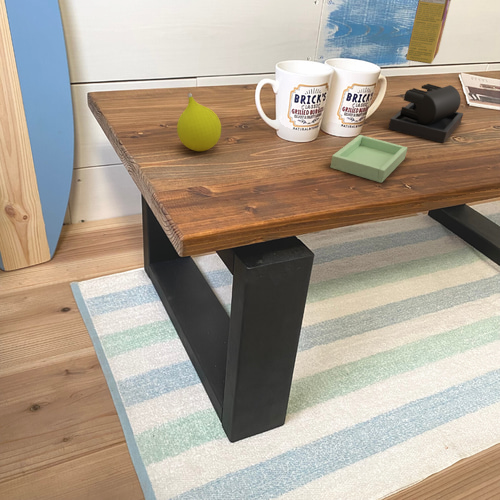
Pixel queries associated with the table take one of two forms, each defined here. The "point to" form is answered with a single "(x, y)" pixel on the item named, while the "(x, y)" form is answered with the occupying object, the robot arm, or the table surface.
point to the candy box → (427, 30)
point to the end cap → (431, 104)
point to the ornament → (198, 126)
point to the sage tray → (369, 158)
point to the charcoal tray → (432, 132)
